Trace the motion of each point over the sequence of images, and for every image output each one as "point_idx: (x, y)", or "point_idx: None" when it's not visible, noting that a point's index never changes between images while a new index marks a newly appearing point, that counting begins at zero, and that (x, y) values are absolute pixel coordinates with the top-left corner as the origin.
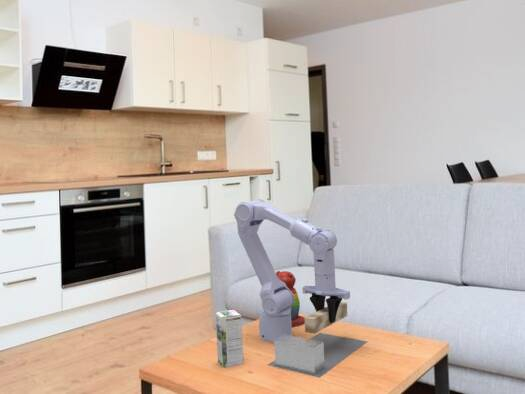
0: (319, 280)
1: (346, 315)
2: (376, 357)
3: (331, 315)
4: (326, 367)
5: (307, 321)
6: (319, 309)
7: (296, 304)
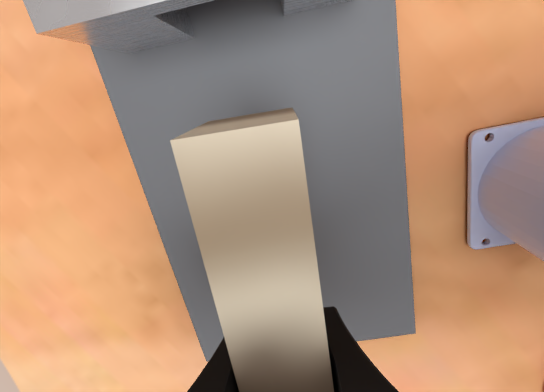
0: None
1: None
2: (107, 286)
3: (212, 356)
4: (121, 56)
5: (262, 122)
6: (338, 380)
7: None
